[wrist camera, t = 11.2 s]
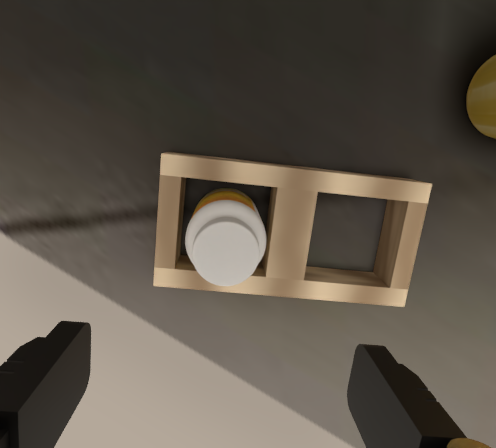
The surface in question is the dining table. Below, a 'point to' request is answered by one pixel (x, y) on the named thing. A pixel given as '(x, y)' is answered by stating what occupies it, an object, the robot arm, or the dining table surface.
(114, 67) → the dining table surface
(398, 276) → the bottle rack
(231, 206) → the supplement bottle
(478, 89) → the plant pot
